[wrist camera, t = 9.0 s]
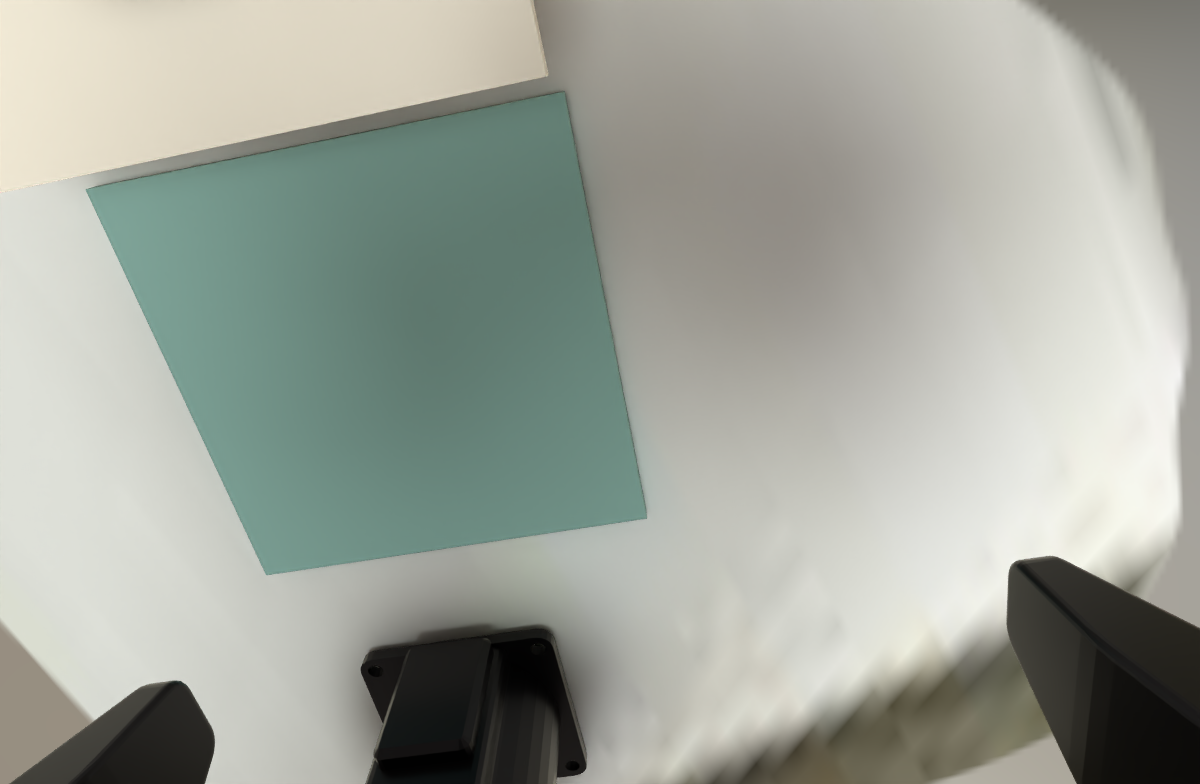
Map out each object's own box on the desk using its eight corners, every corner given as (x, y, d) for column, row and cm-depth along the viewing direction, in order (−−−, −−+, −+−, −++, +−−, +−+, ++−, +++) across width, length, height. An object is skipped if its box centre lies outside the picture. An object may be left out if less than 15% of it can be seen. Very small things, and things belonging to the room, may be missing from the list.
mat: (646, 510, 23) (646, 518, 22) (271, 567, 24) (266, 575, 24) (564, 91, 18) (563, 92, 17) (95, 186, 19) (85, 189, 19)
